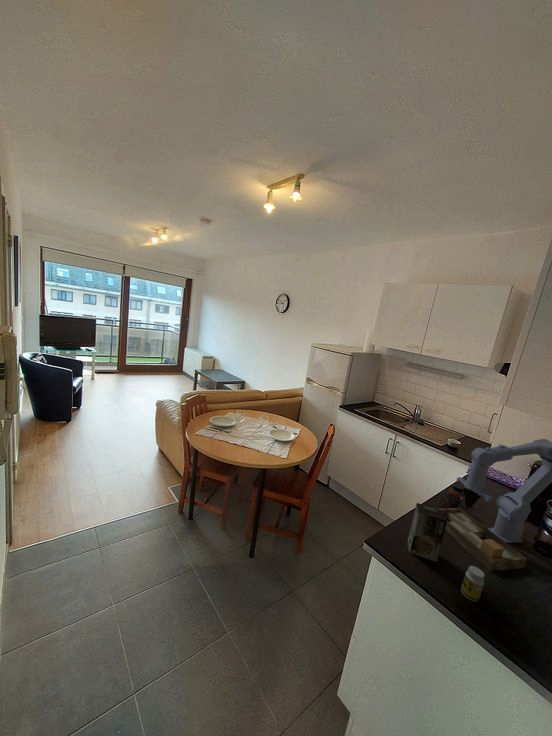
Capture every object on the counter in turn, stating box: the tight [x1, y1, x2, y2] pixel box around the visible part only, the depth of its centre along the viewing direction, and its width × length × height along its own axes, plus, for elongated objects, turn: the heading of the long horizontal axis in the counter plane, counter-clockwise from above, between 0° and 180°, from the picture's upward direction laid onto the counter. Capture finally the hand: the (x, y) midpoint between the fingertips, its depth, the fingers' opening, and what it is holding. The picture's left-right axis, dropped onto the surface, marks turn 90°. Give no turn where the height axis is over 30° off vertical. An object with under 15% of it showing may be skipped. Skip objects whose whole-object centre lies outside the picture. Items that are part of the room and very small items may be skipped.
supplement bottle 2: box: [460, 565, 486, 602], centre depth 87 cm, size 5×5×8 cm
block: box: [480, 539, 504, 559], centre depth 103 cm, size 4×4×4 cm
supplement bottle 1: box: [445, 483, 465, 509], centre depth 134 cm, size 6×6×11 cm
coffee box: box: [407, 502, 448, 563], centre depth 102 cm, size 9×6×16 cm
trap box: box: [437, 507, 528, 572], centre depth 114 cm, size 16×28×4 cm, turn 14°
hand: (468, 506), depth 120 cm, fingers closed
